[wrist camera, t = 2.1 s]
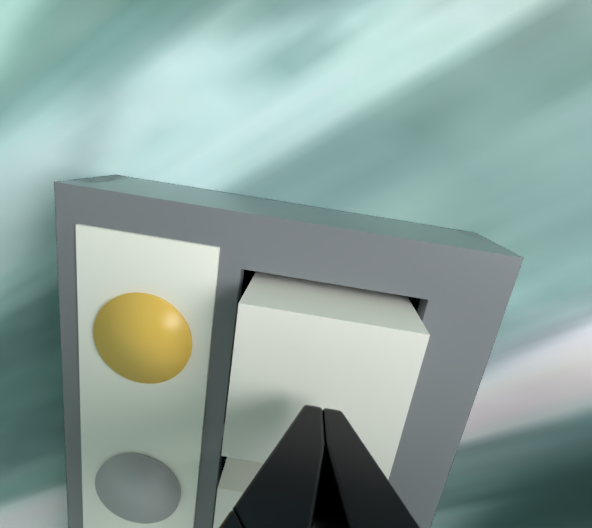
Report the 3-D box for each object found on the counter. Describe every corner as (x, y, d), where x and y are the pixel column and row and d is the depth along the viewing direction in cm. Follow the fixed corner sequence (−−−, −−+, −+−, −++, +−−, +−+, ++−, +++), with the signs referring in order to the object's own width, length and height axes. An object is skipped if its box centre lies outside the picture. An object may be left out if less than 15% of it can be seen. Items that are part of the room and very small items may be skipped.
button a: (406, 294, 11) (430, 335, 8) (374, 419, 12) (386, 484, 10) (256, 269, 11) (238, 302, 9) (240, 396, 12) (221, 455, 10)
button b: (367, 446, 12) (378, 516, 10) (342, 541, 14) (346, 624, 11) (237, 423, 13) (217, 488, 10) (225, 521, 14) (204, 598, 11)
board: (475, 232, 12) (528, 259, 9) (359, 619, 18) (367, 717, 15) (115, 174, 12) (48, 182, 9) (113, 574, 18) (70, 661, 15)
